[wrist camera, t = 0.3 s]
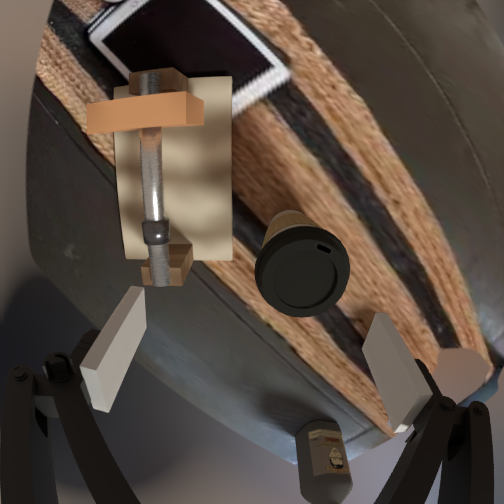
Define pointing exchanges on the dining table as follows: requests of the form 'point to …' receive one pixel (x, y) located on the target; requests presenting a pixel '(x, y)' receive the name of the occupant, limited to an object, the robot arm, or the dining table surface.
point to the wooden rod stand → (182, 177)
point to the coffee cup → (301, 266)
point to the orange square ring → (145, 112)
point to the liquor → (323, 463)
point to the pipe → (154, 190)
